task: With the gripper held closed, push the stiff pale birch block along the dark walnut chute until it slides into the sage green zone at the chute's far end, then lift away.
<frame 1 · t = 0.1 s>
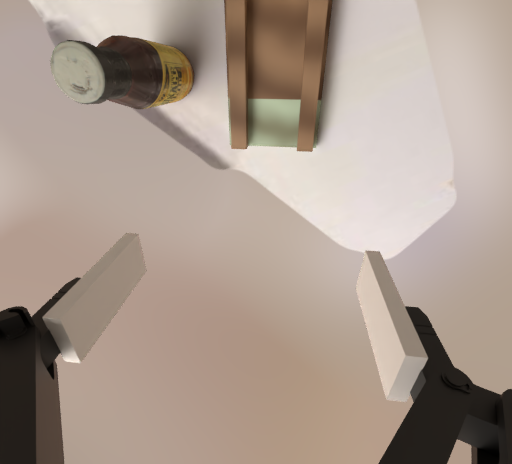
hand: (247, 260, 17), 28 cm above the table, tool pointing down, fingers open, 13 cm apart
walnut chute: (276, 43, 35), on the table
sauce bottle: (174, 73, 38), on the table
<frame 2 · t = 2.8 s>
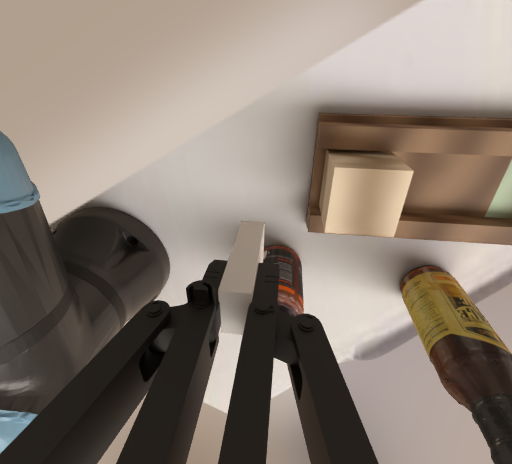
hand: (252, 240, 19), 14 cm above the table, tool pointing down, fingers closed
jammed block: (358, 190, 26), point 4 cm above the table, slide at 0.0 cm
supplement bottle: (277, 261, 37), on the table
walnut chute: (430, 179, 29), on the table
sauce bottle: (422, 280, 36), on the table
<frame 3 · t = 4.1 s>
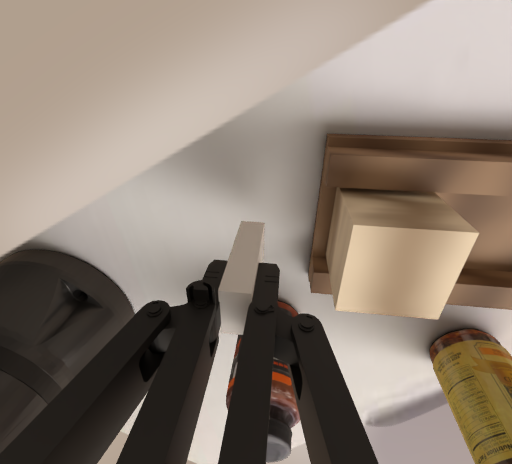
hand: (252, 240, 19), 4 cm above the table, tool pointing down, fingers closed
jammed block: (384, 246, 18), point 4 cm above the table, slide at 0.0 cm
supplement bottle: (271, 317, 29), on the table
walnut chute: (480, 223, 21), on the table
sauce bottle: (458, 344, 28), on the table
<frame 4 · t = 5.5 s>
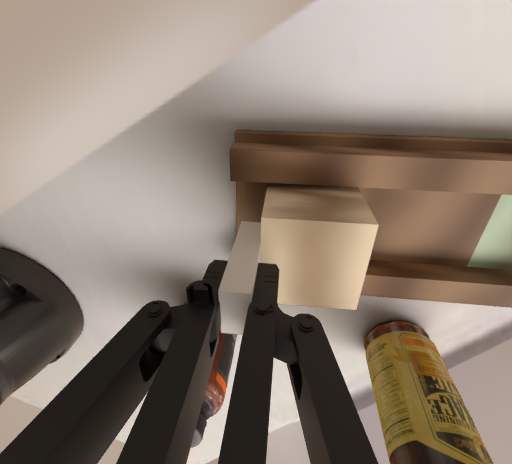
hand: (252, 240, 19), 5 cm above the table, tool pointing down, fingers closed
jammed block: (309, 239, 19), point 4 cm above the table, slide at 1.4 cm, touching gripper
supplement bottle: (212, 310, 29), on the table
walnut chute: (394, 217, 22), on the table
sauce bottle: (392, 336, 28), on the table
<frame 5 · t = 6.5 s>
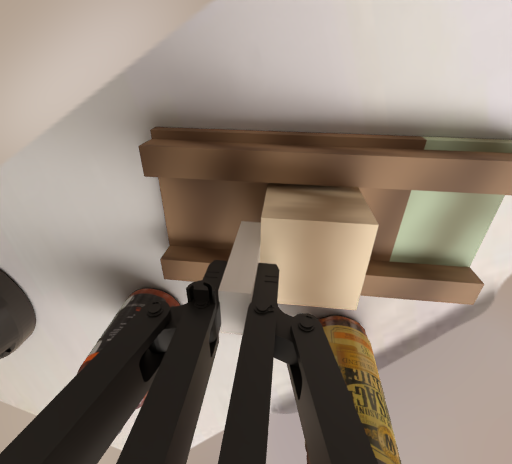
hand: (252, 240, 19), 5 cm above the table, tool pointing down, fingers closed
jammed block: (309, 239, 19), point 4 cm above the table, slide at 7.2 cm, touching gripper
supplement bottle: (157, 305, 30), on the table
walnut chute: (317, 212, 22), on the table
sauce bottle: (333, 331, 29), on the table
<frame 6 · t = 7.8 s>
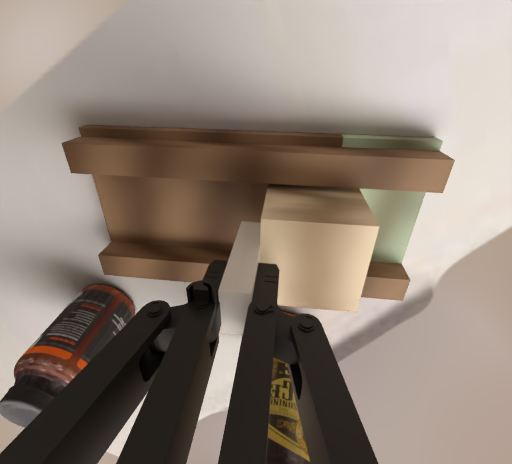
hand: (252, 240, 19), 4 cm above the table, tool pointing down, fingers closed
jammed block: (309, 241, 19), point 4 cm above the table, slide at 12.4 cm, touching gripper
supplement bottle: (111, 301, 30), on the table
walnut chute: (251, 209, 23), on the table
sauce bottle: (282, 327, 29), on the table
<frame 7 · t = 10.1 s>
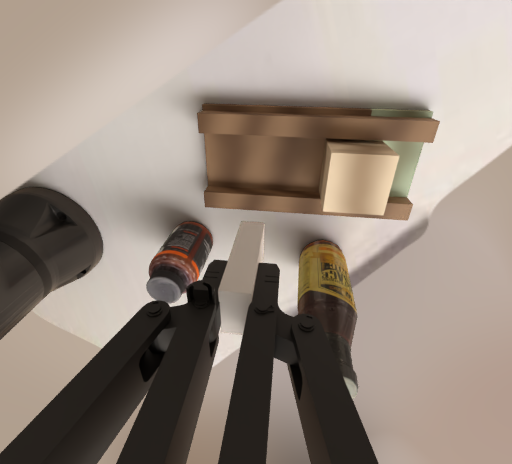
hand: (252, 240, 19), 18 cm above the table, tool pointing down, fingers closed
jammed block: (353, 175, 30), point 4 cm above the table, slide at 12.7 cm
supplement bottle: (194, 237, 42), on the table
walnut chute: (306, 161, 34), on the table
sauce bottle: (320, 254, 41), on the table
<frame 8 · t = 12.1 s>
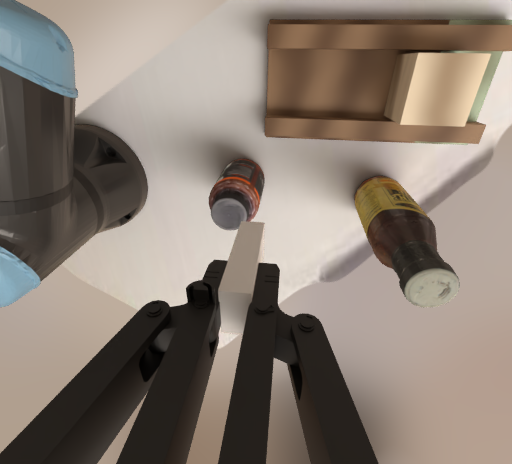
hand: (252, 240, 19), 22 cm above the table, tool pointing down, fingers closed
jammed block: (429, 89, 29), point 4 cm above the table, slide at 12.7 cm
supplement bottle: (244, 177, 41), on the table
walnut chute: (372, 85, 33), on the table
sauce bottle: (374, 193, 39), on the table
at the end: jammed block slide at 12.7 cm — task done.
